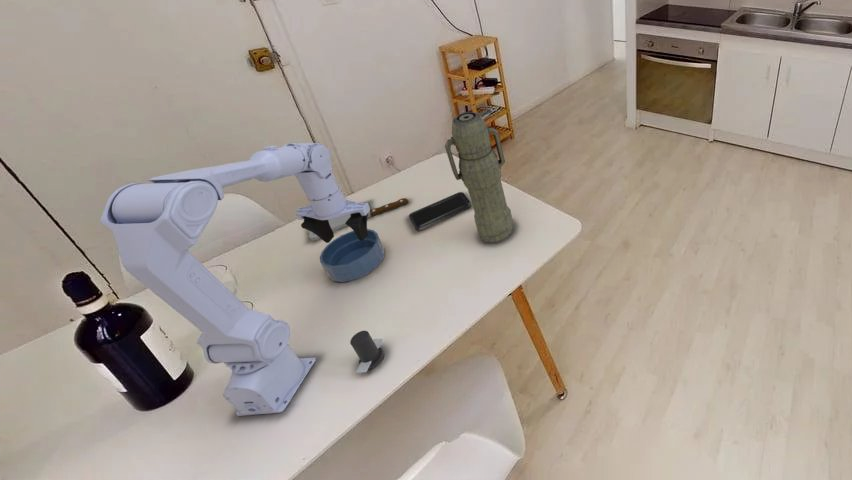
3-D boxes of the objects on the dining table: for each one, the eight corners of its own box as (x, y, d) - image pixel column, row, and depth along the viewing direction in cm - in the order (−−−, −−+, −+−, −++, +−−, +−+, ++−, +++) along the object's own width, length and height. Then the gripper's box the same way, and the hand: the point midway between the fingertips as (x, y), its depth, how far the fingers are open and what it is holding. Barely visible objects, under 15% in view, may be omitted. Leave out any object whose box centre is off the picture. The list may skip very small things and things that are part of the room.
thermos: (525, 229, 109) (499, 115, 91) (481, 252, 102) (445, 133, 85) (511, 212, 115) (484, 102, 97) (469, 232, 108) (433, 118, 91)
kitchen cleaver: (404, 187, 124) (408, 204, 117) (405, 190, 125) (409, 206, 117) (308, 220, 113) (305, 240, 106) (309, 223, 114) (307, 243, 106)
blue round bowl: (370, 281, 95) (362, 265, 92) (317, 285, 95) (307, 268, 92) (394, 243, 106) (387, 227, 103) (347, 246, 105) (338, 230, 102)
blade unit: (374, 376, 76) (361, 354, 73) (352, 377, 76) (338, 355, 73) (390, 343, 82) (379, 321, 78) (370, 344, 82) (357, 322, 78)
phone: (471, 203, 116) (415, 229, 108) (472, 206, 117) (416, 232, 109) (461, 190, 122) (407, 214, 113) (462, 193, 122) (409, 217, 114)
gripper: (367, 178, 91) (387, 224, 98) (300, 182, 90) (325, 228, 97) (350, 199, 85) (372, 246, 91) (278, 203, 84) (306, 250, 91)
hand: (347, 238), depth 94 cm, fingers open, 7 cm apart
